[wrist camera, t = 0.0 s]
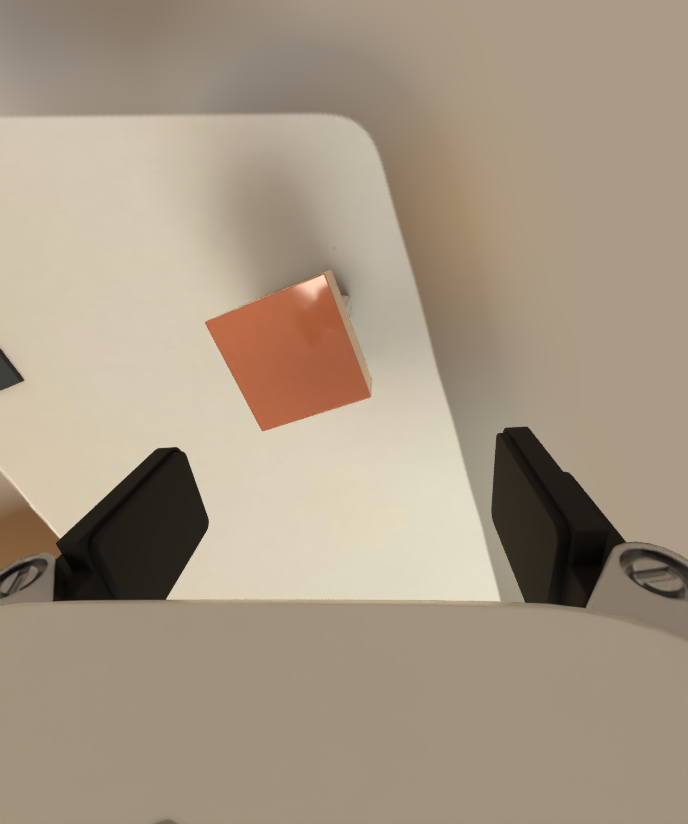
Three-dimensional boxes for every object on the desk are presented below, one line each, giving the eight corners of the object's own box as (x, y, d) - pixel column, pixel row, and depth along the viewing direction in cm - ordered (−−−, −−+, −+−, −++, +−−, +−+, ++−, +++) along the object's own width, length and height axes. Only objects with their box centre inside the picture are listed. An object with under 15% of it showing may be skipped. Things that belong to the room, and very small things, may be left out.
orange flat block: (331, 268, 22) (324, 272, 19) (372, 379, 24) (371, 397, 22) (224, 312, 23) (204, 322, 21) (274, 411, 26) (262, 431, 23)
